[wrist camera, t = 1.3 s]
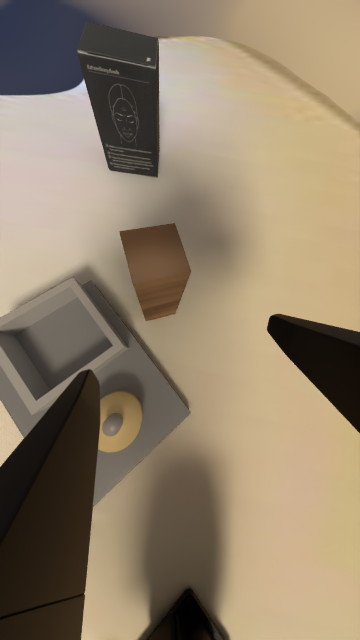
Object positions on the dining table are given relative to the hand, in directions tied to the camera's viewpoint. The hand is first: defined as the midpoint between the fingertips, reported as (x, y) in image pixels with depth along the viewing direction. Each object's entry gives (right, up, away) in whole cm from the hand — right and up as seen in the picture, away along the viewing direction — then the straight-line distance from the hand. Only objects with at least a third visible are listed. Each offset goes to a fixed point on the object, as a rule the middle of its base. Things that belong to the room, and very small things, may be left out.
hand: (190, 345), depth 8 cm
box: (-8, +28, +19) cm, 35 cm away
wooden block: (-4, +3, +14) cm, 15 cm away
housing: (-11, -6, +11) cm, 16 cm away
